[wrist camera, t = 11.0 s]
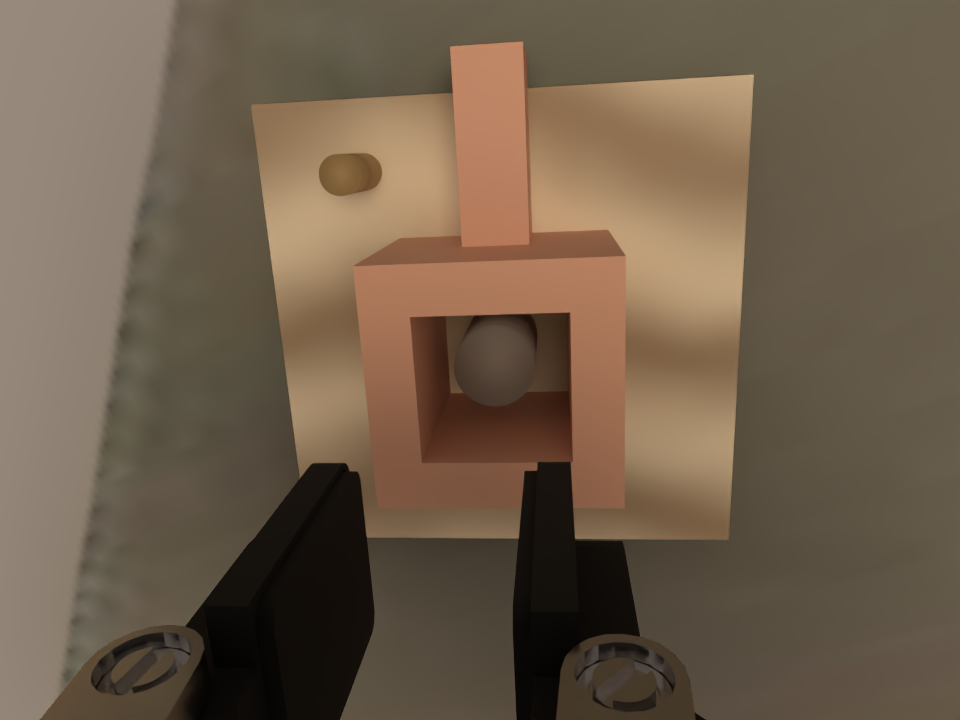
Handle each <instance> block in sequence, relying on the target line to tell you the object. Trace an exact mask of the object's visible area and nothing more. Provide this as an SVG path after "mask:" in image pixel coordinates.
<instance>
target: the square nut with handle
mask: <svg viewBox="0 0 960 720" xmlns="http://www.w3.org/2000/svg"><path fill="white" fill-rule="evenodd" d="M450 52H451V69H452V86H453V104H454V121H455V138H456V155H457V172H458V189H459V206H460V223H461V236H441V237H417V238H399V239H398V240H396V241H394V242H393V243H391V244H389V245H387V246H386V247H384V248H382V249H381V250H379V251H377V252H376V253H374V254H372V255H371V256H369V257H367V258H366V259H364V260H362V261H361V262H359V263H357V264H356V265H354V266H353V273H354V283H355V293H356V303H357V312H358V322H359V332H360V342H361V352H362V362H363V371H364V381H365V391H366V401H367V411H368V420H369V430H370V440H371V450H372V460H373V470H374V479H375V489H376V499H377V508H521V506H522V495H523V483H524V472H525V471H537V464H538V462H571V476H572V494H573V508H625V331H626V255H625V254H624V252H623V251H622V250H621V248H620V247H619V245H618V244H617V242H616V241H615V239H614V238H613V236H612V235H611V233H610V232H609V230H587V231H562V232H538V233H532V210H531V177H530V145H529V113H528V80H527V54H526V51H525V47H524V44H523V42H509V43H495V44H480V45H466V46H452V47H450ZM535 313H567V346H568V391H546V392H526V393H525V394H524V395H523V396H522V397H521V398H520V399H518V400H517V401H515V402H513V403H511V404H508V405H504V406H486V405H483V404H480V403H478V402H475V401H474V400H472V399H471V398H469V397H468V396H467V395H466V394H465V393H451V389H450V374H449V359H448V344H447V329H446V316H466V315H500V314H535Z"/></svg>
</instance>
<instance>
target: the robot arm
mask: <svg viewBox="0 0 960 720" xmlns="http://www.w3.org/2000/svg"><path fill="white" fill-rule="evenodd" d="M373 626H374V602H373V593H372V583H371V574H370V564H369V555H368V545H367V536H366V526H365V517H364V507H363V498H362V488H361V480H360V475H359V473H358V472H357V471H349V468H348V465H347V464H346V463H312V464H311V465H310V466H309V467H308V469H307V470H306V471H305V473H304V474H303V475H302V476H301V478H300V479H299V480H298V482H297V483H296V484H295V486H294V487H293V488H292V490H291V491H290V492H289V494H288V495H287V496H286V497H285V499H284V500H283V501H282V503H281V504H280V505H279V507H278V508H277V509H276V511H275V512H274V513H273V515H272V516H271V517H270V518H269V520H268V521H267V522H266V524H265V525H264V526H263V528H262V529H261V530H260V532H259V533H258V534H257V536H256V537H255V538H254V539H253V540H252V541H251V542H250V543H249V544H248V545H247V547H246V548H245V549H244V550H243V552H242V553H241V554H240V556H239V557H238V558H237V560H236V561H235V562H234V564H233V565H232V566H231V567H230V569H229V570H228V571H227V573H226V574H225V575H224V577H223V578H222V579H221V580H220V582H219V583H218V584H217V586H216V587H215V588H214V590H213V591H212V592H211V594H210V595H209V596H208V597H207V599H206V600H205V601H204V603H203V604H202V605H201V607H200V608H199V609H198V610H197V612H196V613H195V614H194V616H193V617H192V618H191V620H190V621H189V622H188V624H187V625H186V626H179V625H161V626H153V627H148V628H144V629H141V630H138V631H134V632H131V633H129V634H127V635H124V636H122V637H120V638H118V639H116V640H114V641H112V642H110V643H109V644H107V645H106V646H104V647H103V648H101V649H100V650H98V651H97V652H96V653H95V654H94V655H93V656H92V657H91V658H90V659H89V660H88V661H87V662H86V663H85V664H84V665H83V666H82V668H81V669H80V670H79V671H78V673H77V674H76V675H75V676H74V678H73V679H72V680H71V681H70V683H69V684H68V685H67V686H66V688H65V689H64V690H63V691H62V693H61V694H60V695H59V696H58V698H57V699H56V700H55V701H54V703H53V704H52V705H51V706H50V708H49V709H48V710H47V711H46V713H45V714H44V715H43V717H42V718H41V719H40V720H340V718H341V715H342V712H343V710H344V707H345V704H346V702H347V699H348V696H349V694H350V691H351V688H352V686H353V683H354V680H355V677H356V675H357V672H358V669H359V667H360V664H361V661H362V659H363V656H364V653H365V651H366V648H367V645H368V643H369V640H370V637H371V634H372V631H373ZM513 645H514V668H515V691H516V715H517V720H705V719H704V718H702V717H701V716H699V715H698V714H696V713H694V706H693V699H692V692H691V685H690V679H689V677H688V674H687V671H686V668H685V666H684V665H683V664H682V662H681V661H680V660H679V659H678V658H677V657H676V655H675V654H674V653H672V652H671V651H669V650H668V649H666V648H665V647H663V646H662V645H660V644H659V643H656V642H653V641H651V640H648V639H646V638H643V637H640V634H639V628H638V623H637V617H636V612H635V606H634V600H633V595H632V589H631V583H630V578H629V572H628V567H627V561H626V555H625V550H624V545H623V542H622V541H575V529H574V511H573V494H572V476H571V462H538V464H537V471H525V472H524V483H523V495H522V506H521V518H520V529H519V541H518V553H517V564H516V576H515V587H514V599H513Z"/></svg>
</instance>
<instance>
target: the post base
mask: <svg viewBox="0 0 960 720" xmlns="http://www.w3.org/2000/svg"><path fill="white" fill-rule="evenodd" d="M753 78H754V75H739V76H723V77H706V78H690V79H673V80H656V81H640V82H623V83H607V84H590V85H574V86H557V87H541V88H528V113H529V145H530V177H531V210H532V233H538V232H562V231H587V230H609V232H610V233H611V235H612V236H613V238H614V239H615V241H616V242H617V244H618V245H619V247H620V248H621V250H622V251H623V252H624V254H625V255H626V331H625V508H573V511H574V529H575V539H671V540H729V525H730V507H731V488H732V469H733V451H734V432H735V414H736V395H737V376H738V358H739V339H740V320H741V302H742V283H743V265H744V246H745V227H746V209H747V190H748V172H749V153H750V134H751V116H752V97H753ZM251 109H252V116H253V124H254V132H255V139H256V147H257V155H258V162H259V170H260V177H261V185H262V193H263V200H264V208H265V216H266V223H267V231H268V238H269V246H270V254H271V261H272V269H273V277H274V284H275V292H276V299H277V307H278V315H279V322H280V330H281V338H282V345H283V353H284V360H285V368H286V376H287V383H288V391H289V399H290V406H291V414H292V421H293V429H294V437H295V444H296V452H297V460H298V467H299V475H300V478H301V476H302V475H303V474H304V473H305V471H306V470H307V469H308V467H309V466H310V465H311V464H312V463H346V464H347V465H348V468H349V471H357V472H358V473H359V475H360V480H361V488H362V498H363V507H364V517H365V526H366V536H367V538H517V539H519V529H520V518H521V508H377V499H376V489H375V479H374V470H373V460H372V450H371V440H370V430H369V420H368V411H367V401H366V391H365V381H364V371H363V362H362V352H361V342H360V332H359V322H358V312H357V303H356V293H355V283H354V273H353V266H354V265H356V264H357V263H359V262H361V261H362V260H364V259H366V258H367V257H369V256H371V255H372V254H374V253H376V252H377V251H379V250H381V249H382V248H384V247H386V246H387V245H389V244H391V243H393V242H394V241H396V240H398V239H399V238H417V237H441V236H461V223H460V206H459V189H458V172H457V155H456V138H455V121H454V104H453V93H441V94H425V95H408V96H392V97H375V98H359V99H342V100H325V101H309V102H292V103H276V104H259V105H251ZM446 329H447V344H448V359H449V374H450V389H451V393H465V394H466V395H467V396H468V397H469V398H471V399H472V400H474V401H475V402H478V403H480V404H483V405H486V406H504V405H508V404H511V403H513V402H515V401H517V400H518V399H520V398H521V397H522V396H523V395H524V394H525V393H526V392H546V391H568V346H567V313H535V314H500V315H466V316H446Z"/></svg>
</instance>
